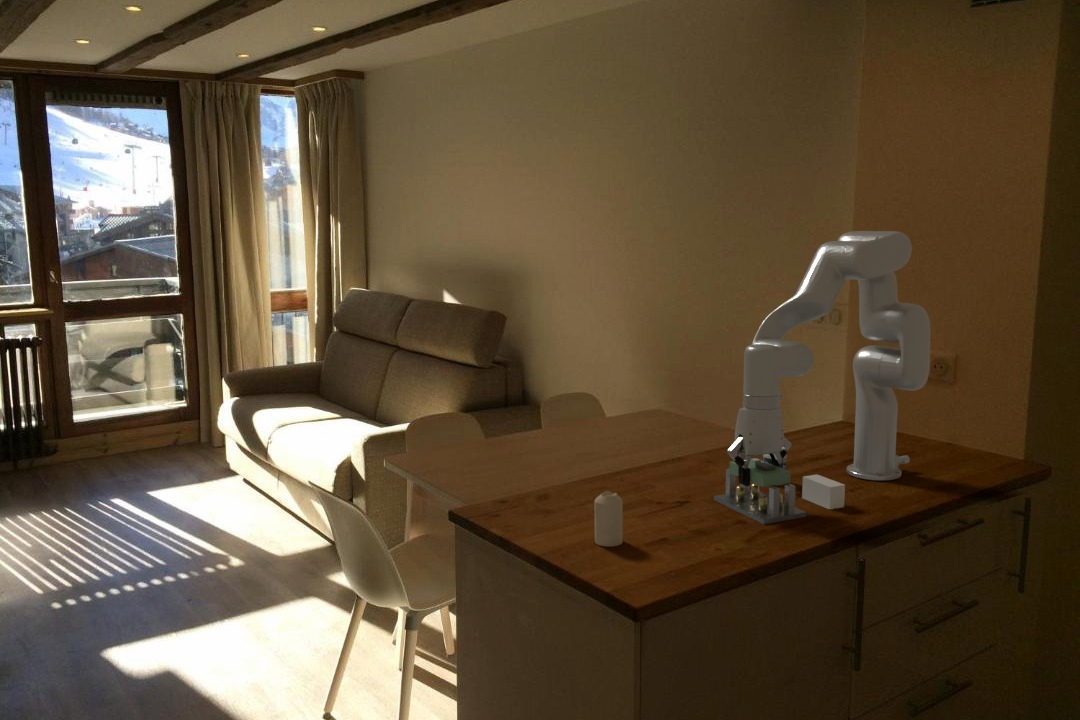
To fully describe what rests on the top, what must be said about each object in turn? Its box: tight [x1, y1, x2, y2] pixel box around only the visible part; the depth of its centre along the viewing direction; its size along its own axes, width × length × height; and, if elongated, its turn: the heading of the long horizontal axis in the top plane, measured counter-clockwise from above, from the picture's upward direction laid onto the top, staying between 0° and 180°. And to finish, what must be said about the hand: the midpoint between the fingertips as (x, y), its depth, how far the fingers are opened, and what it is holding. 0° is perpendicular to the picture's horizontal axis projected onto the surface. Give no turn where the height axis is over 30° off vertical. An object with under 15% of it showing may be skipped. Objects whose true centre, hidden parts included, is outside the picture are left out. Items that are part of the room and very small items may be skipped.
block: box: [801, 473, 846, 510], centre depth 199 cm, size 4×9×5 cm, turn 23°
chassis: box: [713, 468, 807, 525], centre depth 196 cm, size 11×18×7 cm, turn 23°
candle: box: [593, 490, 624, 548], centre depth 177 cm, size 6×6×10 cm
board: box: [728, 457, 791, 488], centre depth 195 cm, size 7×12×3 cm, turn 23°
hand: (758, 481), depth 195 cm, fingers closed on board, 7 cm apart
